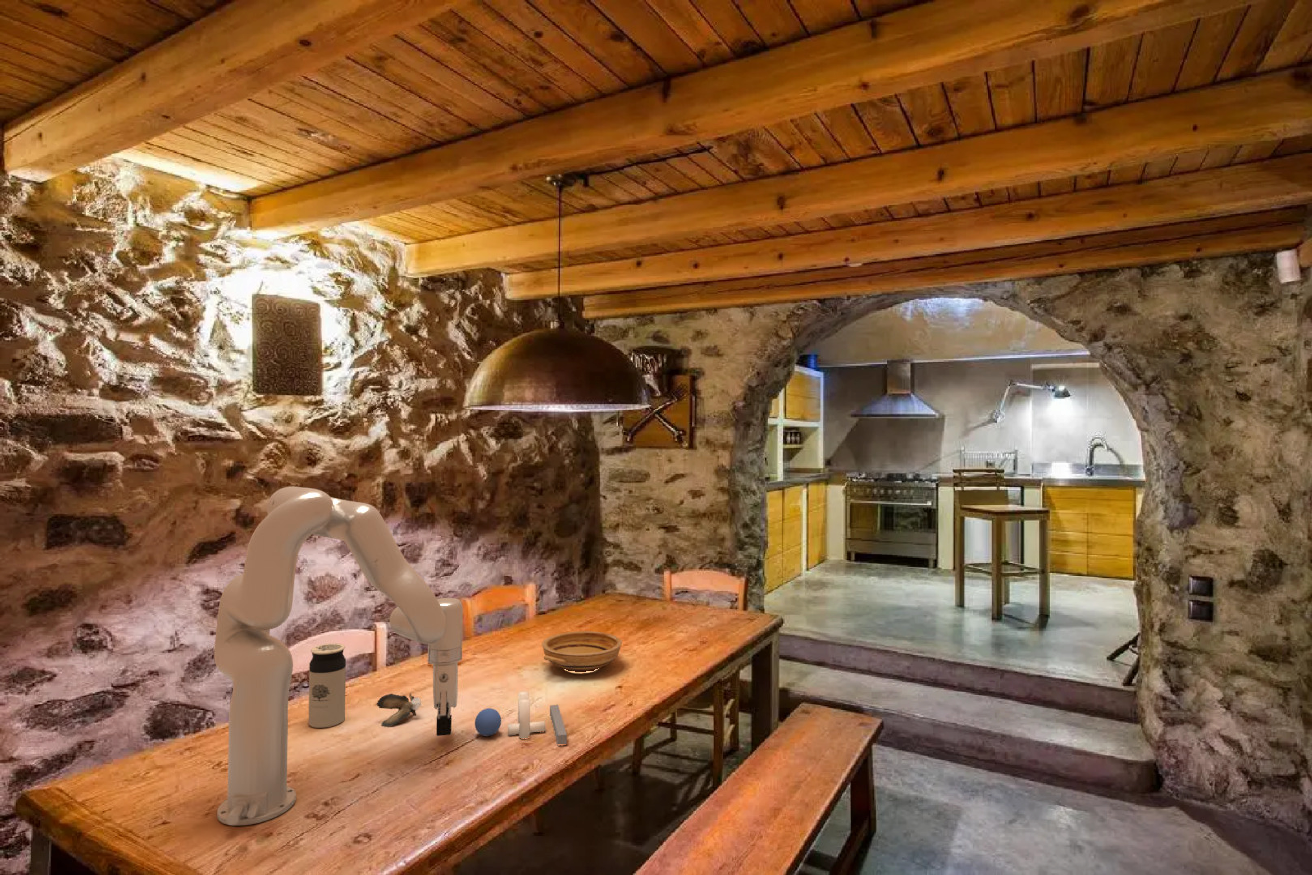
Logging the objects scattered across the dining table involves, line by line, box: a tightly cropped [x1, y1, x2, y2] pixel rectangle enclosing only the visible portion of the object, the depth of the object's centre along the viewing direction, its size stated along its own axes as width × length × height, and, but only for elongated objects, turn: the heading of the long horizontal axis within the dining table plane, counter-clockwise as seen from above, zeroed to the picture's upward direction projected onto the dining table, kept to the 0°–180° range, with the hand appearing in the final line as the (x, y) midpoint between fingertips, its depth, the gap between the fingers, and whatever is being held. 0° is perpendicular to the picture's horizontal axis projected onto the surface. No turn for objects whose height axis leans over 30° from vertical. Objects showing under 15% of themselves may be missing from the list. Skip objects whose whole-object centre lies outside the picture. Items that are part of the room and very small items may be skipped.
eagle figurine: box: [376, 692, 422, 728], centre depth 167 cm, size 8×7×9 cm
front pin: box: [507, 720, 546, 736], centre depth 160 cm, size 2×2×8 cm
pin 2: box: [518, 699, 531, 739], centre depth 158 cm, size 2×2×8 cm
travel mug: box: [308, 643, 347, 729], centre depth 165 cm, size 8×8×18 cm
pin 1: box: [517, 690, 530, 724], centre depth 162 cm, size 2×2×8 cm
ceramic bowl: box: [541, 630, 623, 672], centre depth 207 cm, size 30×24×8 cm
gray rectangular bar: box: [549, 704, 568, 744], centre depth 162 cm, size 18×2×2 cm, turn 15°
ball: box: [474, 707, 502, 737], centre depth 159 cm, size 6×6×6 cm
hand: (443, 733), depth 155 cm, fingers closed
